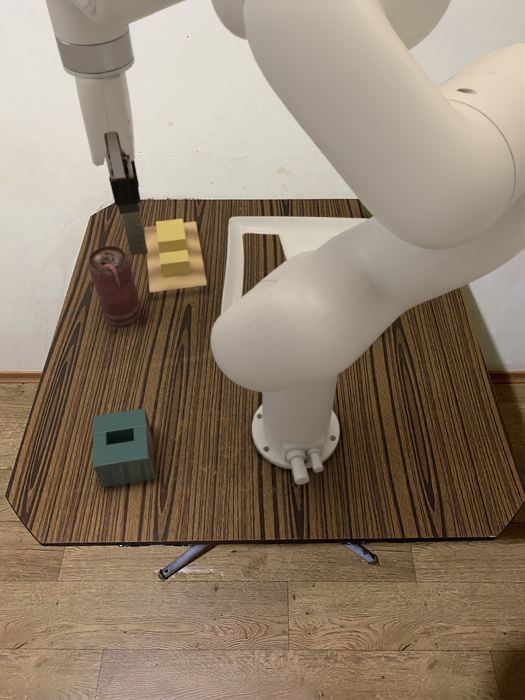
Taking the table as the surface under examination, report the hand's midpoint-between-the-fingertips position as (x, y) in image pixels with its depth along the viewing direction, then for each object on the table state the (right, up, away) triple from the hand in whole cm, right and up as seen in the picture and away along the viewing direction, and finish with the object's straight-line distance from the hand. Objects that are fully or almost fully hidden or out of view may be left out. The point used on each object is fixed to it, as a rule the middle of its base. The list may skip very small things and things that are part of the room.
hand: (127, 194), depth 74 cm
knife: (0, -6, +8) cm, 10 cm away
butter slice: (+2, -6, +29) cm, 29 cm away
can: (-6, -15, +23) cm, 28 cm away
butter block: (+1, 0, +33) cm, 33 cm away
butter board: (+1, -4, +32) cm, 33 cm away
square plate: (+25, -7, +29) cm, 39 cm away
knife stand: (-1, -35, +6) cm, 36 cm away
